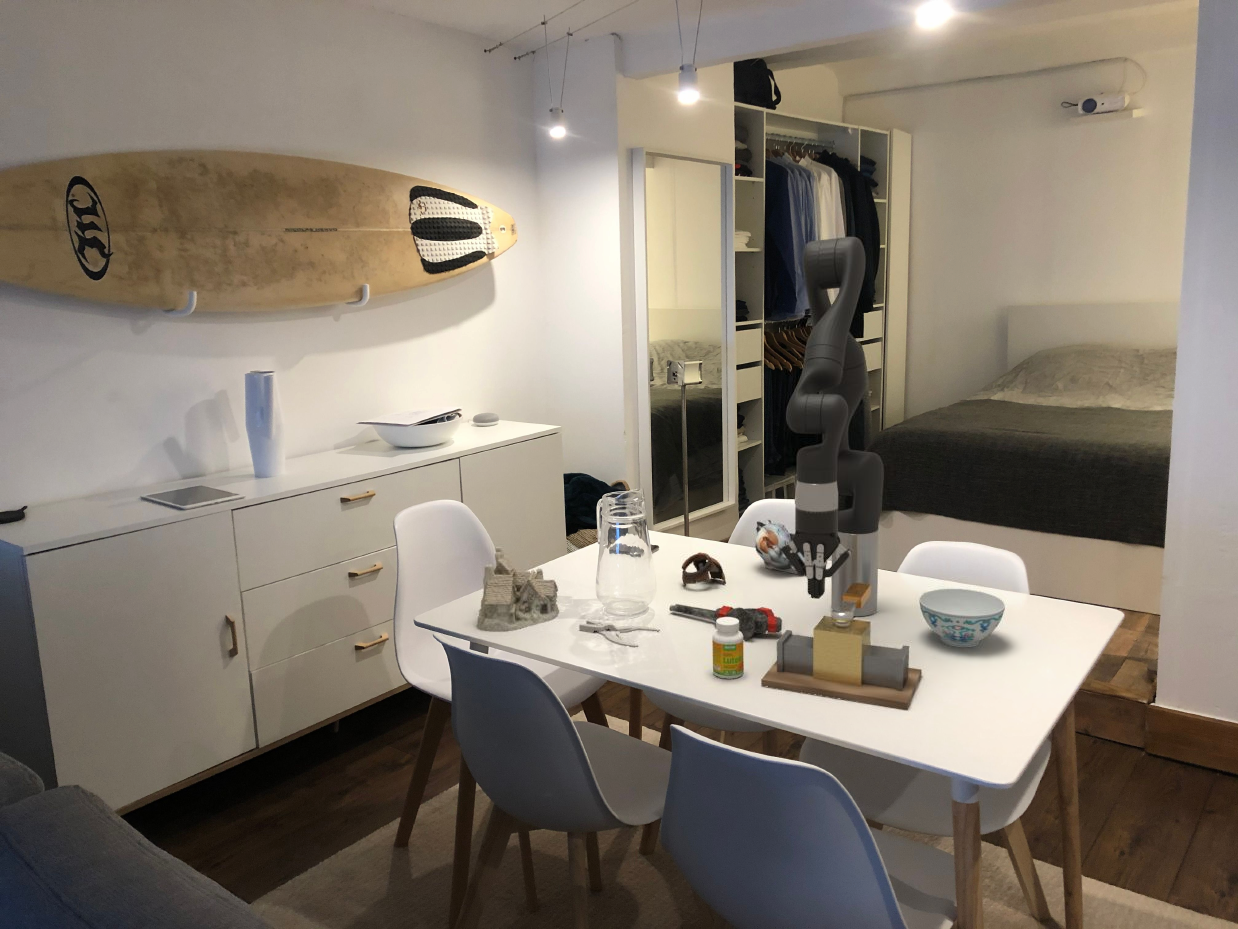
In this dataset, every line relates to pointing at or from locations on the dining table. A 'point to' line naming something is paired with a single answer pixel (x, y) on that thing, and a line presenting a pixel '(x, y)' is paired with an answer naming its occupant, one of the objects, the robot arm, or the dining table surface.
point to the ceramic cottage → (515, 597)
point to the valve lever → (852, 602)
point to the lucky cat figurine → (774, 546)
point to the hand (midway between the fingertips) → (816, 597)
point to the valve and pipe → (843, 655)
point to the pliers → (603, 627)
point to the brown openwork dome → (702, 569)
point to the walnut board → (845, 688)
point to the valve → (739, 618)
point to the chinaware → (961, 615)
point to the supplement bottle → (728, 649)
